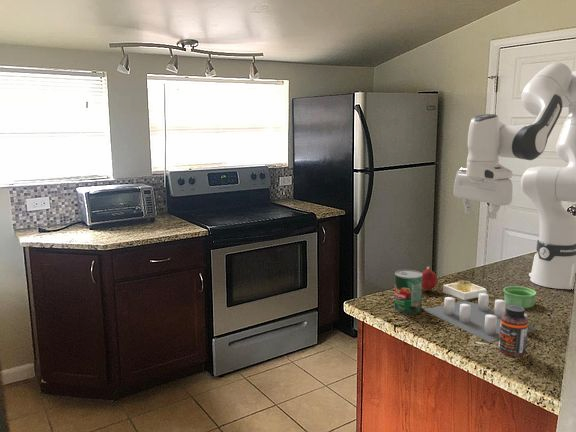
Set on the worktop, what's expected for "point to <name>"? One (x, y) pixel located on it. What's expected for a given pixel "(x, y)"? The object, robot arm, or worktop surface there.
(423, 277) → the pomegranate
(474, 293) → the ceramic dish
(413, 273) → the canned tomato
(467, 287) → the tan faceted block
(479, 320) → the mat
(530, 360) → the worktop surface
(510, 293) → the ramekin
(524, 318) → the supplement bottle
